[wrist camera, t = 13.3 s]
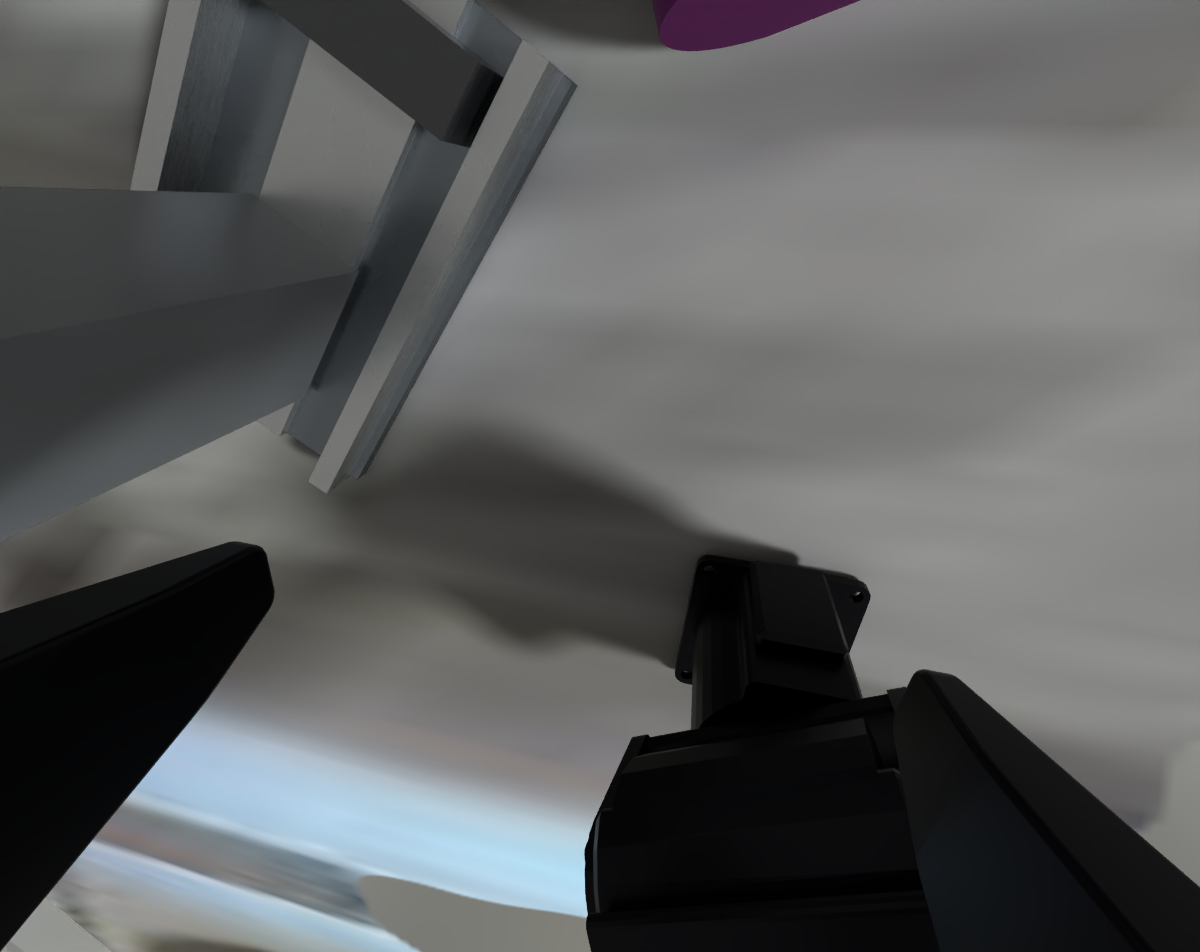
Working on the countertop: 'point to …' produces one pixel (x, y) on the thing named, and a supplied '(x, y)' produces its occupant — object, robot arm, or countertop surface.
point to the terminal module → (146, 333)
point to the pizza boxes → (52, 933)
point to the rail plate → (356, 168)
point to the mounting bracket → (732, 20)
